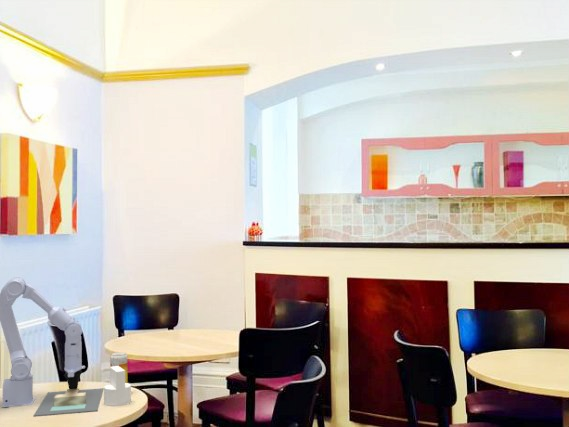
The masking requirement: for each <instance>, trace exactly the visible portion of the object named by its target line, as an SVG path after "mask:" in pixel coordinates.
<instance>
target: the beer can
mask: <svg viewBox="0 0 569 427" xmlns="http://www.w3.org/2000/svg"><path fill="white" fill-rule="evenodd" d="M109 358H110V359H109V362H110V363H109V364H110V367H113V366H119V367H121V368H122V369H124V370H125V383H129V382H128V378H129V377H128V354H127V352H125V351H120V352H119V351H117V352H112V353H111V356H110V357H109ZM110 367H109V368H110Z"/></svg>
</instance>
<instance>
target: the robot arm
mask: <svg viewBox="0 0 569 427" xmlns="http://www.w3.org/2000/svg"><path fill="white" fill-rule="evenodd" d="M21 296H22V297H21ZM19 297H21V298H22V299H26V300H31V301H32V302H34V303H35V304H36V305H37V306H38V307H40V308H41V309H42V310H43V311H44V312H45V313H47V319H48V320H49V321H50V322H51V323H52V324H53V325H55V326H56V327H57V328H58V329H60V330H61V331H63V332H64V335H65V343H64V368H63V369H64V371H65V373H64V377H65V379H66V382H67V385H68V389H78V388H79V382H80V379H81V378H80V377H81V376H82V372H83V371H82V369H85V368H86V366H85V365H83V364H82V362H83V361H82V360H83V359H82V357H83V356H82V354H83V353H82V350H83V348H82V345H83V344H82V336H81V335H82V333H83V330H82V329H83V328H82V326H81V323H80V322H79V321H78V320H76V318H75V317H73V316H71V315H70V314H69V313H68V312H67V309H66V307H61V306H54V305H53V304H52V303H51V302H50V301H49V300H48V299H47V298H46V297H45V296H44V295H43V294H42V293H41V292H40V291H39V290H38V289H36V288H35V287H34V286H33V285H31V284H30V283H28V282H25V280H24V279H23V278H20V277H13V278H11V279H9V280H8V281H7V282H6V283H5V284H4V286H3V287H2V288H1V291H0V326H1V328H2V332H3V336H4V339H5V342H6V346H7V350H8V352H9V358H10V364H11V367H10V368H11V369H10V374H11V376H10V377H9V378H5V379H4V380H3V383H2V405H1V407H2V408H10V407H19V406H22V407H23V406H31V405H33V403H34V402H35V400H36V397H33V395H34V394H33V393H34V392H33V391H34V390H33V386H34V384H33V382H34V381H33V380H34V379H33V374H32V373H31V370H32V366H33V362H32V360H31V358H29V357H28V355H27V353H26V352H27V351H26V350H25V348H24V345H23V344H24V343H23V341H22V338H21V334H20V332H19V328H18V324H17V320H16V317H15V314H14V310H13V305H14V303H15V302H16V300H17V299H18V298H19Z"/></svg>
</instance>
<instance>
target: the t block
mask: <svg viewBox="0 0 569 427" xmlns="http://www.w3.org/2000/svg"><path fill="white" fill-rule="evenodd" d="M79 390H80V388H77V389H69V388H68V389H66V390H65V391H66V393H65V394H58V395H55V397H54V407H56V406H69V405H81V404H85V402H86V392H84V393H79Z"/></svg>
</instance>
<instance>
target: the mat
mask: <svg viewBox="0 0 569 427" xmlns="http://www.w3.org/2000/svg"><path fill="white" fill-rule="evenodd" d="M66 391H67V390H63V391H61V390H60V391H49V392H47V393H46V395H45V396H44V398H43V400H42V401H41V402H40V404H39V406H38V408H37V409H36V410H35V412H34V414H33V417H35V418H36V417H43V416H44V417H47V416H59V415H71V414H83V413H96V412H99V411H98V410H99V407H100V403H101V399H102V396H103V394H104V387H102V388H90V389H89V388H88V389H87V388H86V389H79V393H84V392H86V402H85V404H81V405H69V406H56V407H54V397H55V395H58V394H65V393H66Z"/></svg>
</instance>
